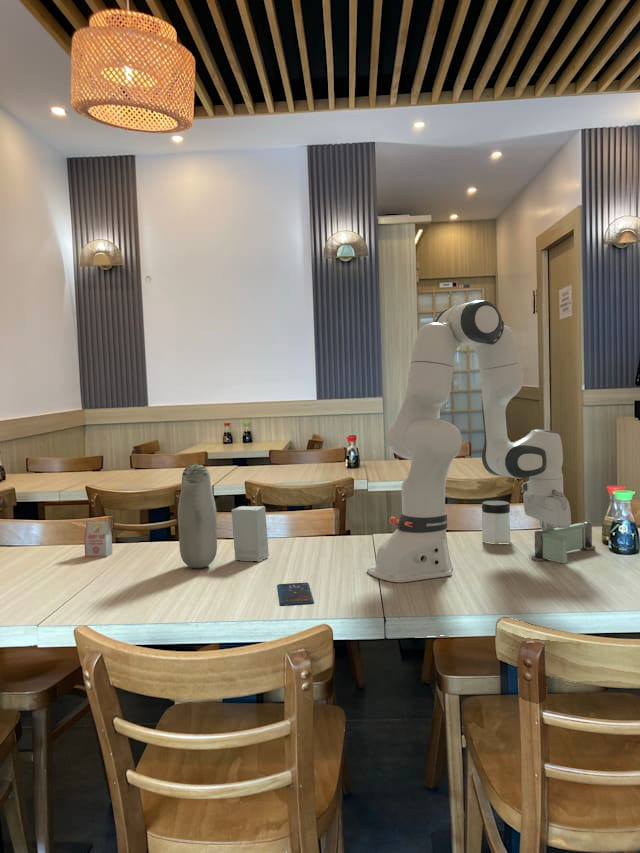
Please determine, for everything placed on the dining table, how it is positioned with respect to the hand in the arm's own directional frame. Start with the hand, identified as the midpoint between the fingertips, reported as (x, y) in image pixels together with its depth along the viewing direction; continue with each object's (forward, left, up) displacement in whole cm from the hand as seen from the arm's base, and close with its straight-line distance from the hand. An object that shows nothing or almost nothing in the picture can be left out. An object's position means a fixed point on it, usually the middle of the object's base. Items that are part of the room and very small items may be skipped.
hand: (546, 537), depth 170 cm
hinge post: (+14, -2, -5) cm, 15 cm away
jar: (0, +19, -5) cm, 20 cm away
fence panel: (-6, -7, -5) cm, 10 cm away
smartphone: (-74, +11, -5) cm, 75 cm away
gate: (+4, -2, -4) cm, 6 cm away
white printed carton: (-104, +78, -5) cm, 130 cm away
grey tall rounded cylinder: (-84, +47, -5) cm, 96 cm away
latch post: (-6, -2, -5) cm, 8 cm away
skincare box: (-69, +46, -5) cm, 83 cm away
